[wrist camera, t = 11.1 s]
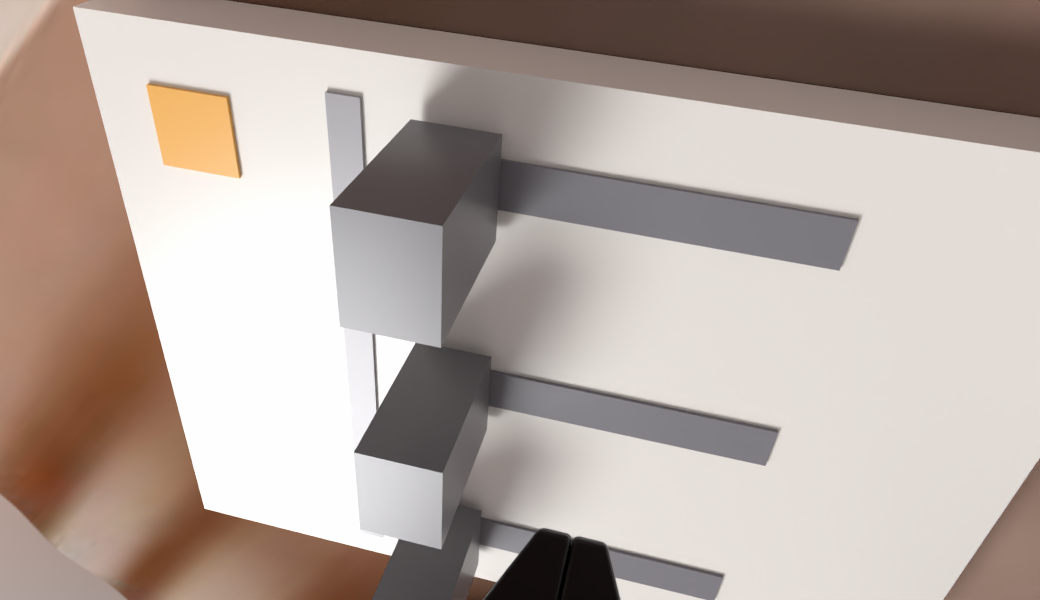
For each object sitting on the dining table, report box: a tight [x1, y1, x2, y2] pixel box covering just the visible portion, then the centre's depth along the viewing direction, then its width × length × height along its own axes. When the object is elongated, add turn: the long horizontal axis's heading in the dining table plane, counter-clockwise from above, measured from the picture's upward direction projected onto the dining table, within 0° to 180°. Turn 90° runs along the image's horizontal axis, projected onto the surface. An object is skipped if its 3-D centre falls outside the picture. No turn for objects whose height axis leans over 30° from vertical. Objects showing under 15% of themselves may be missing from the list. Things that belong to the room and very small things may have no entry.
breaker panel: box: [73, 0, 1040, 600], centre depth 21 cm, size 23×17×2 cm
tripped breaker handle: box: [329, 119, 502, 348], centre depth 15 cm, size 2×3×4 cm
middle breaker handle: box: [354, 343, 492, 549], centre depth 19 cm, size 2×3×4 cm
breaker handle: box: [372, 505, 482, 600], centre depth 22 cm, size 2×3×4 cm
